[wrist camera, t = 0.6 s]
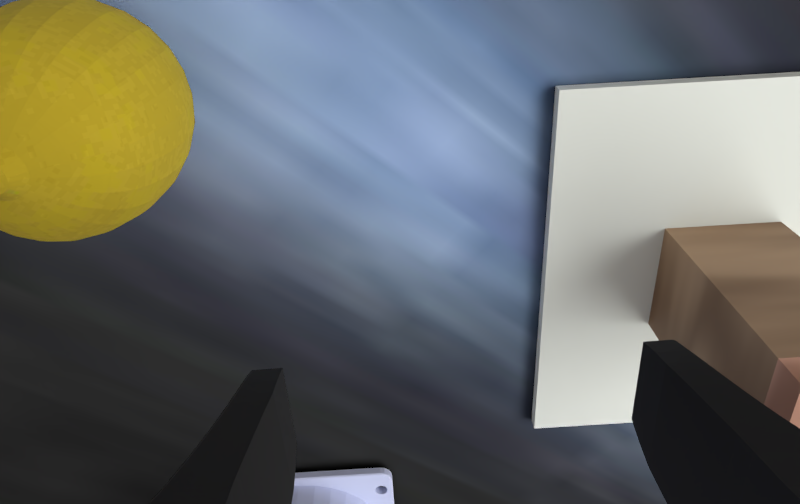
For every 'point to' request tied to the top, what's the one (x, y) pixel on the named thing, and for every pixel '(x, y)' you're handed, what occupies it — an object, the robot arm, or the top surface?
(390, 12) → the top surface
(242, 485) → the robot arm
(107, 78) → the lemon
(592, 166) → the mat
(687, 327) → the walnut block
